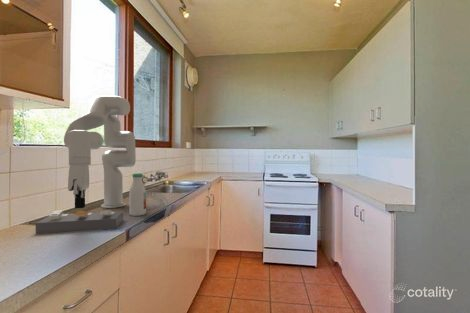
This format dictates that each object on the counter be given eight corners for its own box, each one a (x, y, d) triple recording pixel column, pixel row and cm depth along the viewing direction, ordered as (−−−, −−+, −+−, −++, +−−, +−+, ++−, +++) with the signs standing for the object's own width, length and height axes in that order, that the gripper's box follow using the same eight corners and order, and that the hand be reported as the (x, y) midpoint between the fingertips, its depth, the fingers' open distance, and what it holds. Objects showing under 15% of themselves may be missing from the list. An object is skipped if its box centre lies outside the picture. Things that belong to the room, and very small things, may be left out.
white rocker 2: (103, 214, 110) (103, 210, 110) (111, 213, 110) (111, 209, 110) (100, 214, 105) (100, 210, 105) (108, 213, 105) (108, 209, 106)
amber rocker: (79, 215, 107) (79, 211, 108) (87, 214, 108) (87, 210, 108) (75, 215, 103) (75, 211, 103) (83, 215, 103) (84, 210, 104)
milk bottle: (140, 216, 124) (140, 174, 124) (125, 215, 125) (125, 174, 125) (149, 212, 131) (148, 173, 131) (135, 212, 133) (135, 173, 133)
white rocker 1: (54, 213, 105) (54, 210, 105) (63, 213, 106) (62, 209, 106) (49, 219, 101) (48, 215, 100) (58, 219, 101) (57, 215, 101)
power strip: (52, 223, 111) (52, 213, 111) (123, 219, 117) (123, 210, 117) (35, 233, 97) (35, 222, 97) (116, 228, 104) (116, 218, 104)
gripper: (76, 161, 110) (76, 204, 110) (61, 162, 95) (61, 212, 95) (95, 161, 112) (95, 204, 112) (84, 162, 97) (84, 211, 97)
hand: (80, 207), depth 104 cm, fingers closed
